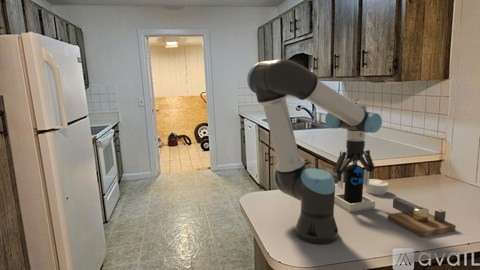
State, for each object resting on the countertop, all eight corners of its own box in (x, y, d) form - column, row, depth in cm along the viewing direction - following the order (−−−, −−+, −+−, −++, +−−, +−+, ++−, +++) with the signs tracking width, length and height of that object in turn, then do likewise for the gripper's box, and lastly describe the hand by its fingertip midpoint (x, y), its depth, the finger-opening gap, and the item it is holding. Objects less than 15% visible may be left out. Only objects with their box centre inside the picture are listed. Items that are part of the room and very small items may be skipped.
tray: (349, 212, 132) (349, 204, 131) (332, 201, 144) (332, 194, 143) (374, 208, 135) (375, 201, 135) (355, 198, 148) (355, 191, 147)
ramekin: (390, 196, 150) (391, 186, 149) (366, 195, 152) (367, 185, 151) (383, 188, 161) (384, 179, 160) (361, 188, 163) (362, 178, 162)
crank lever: (431, 220, 117) (432, 210, 117) (421, 222, 116) (421, 212, 115) (398, 205, 133) (399, 196, 132) (389, 207, 131) (389, 198, 131)
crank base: (421, 237, 110) (422, 221, 109) (387, 219, 125) (388, 204, 124) (455, 230, 114) (456, 214, 113) (418, 213, 129) (420, 199, 128)
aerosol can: (339, 201, 142) (341, 159, 139) (353, 198, 145) (355, 157, 141) (351, 207, 134) (354, 163, 131) (366, 205, 137) (369, 161, 134)
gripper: (336, 142, 128) (334, 191, 131) (385, 139, 135) (382, 186, 138) (326, 139, 135) (324, 186, 138) (373, 136, 142) (370, 181, 145)
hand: (353, 186), depth 138 cm, fingers open, 13 cm apart
